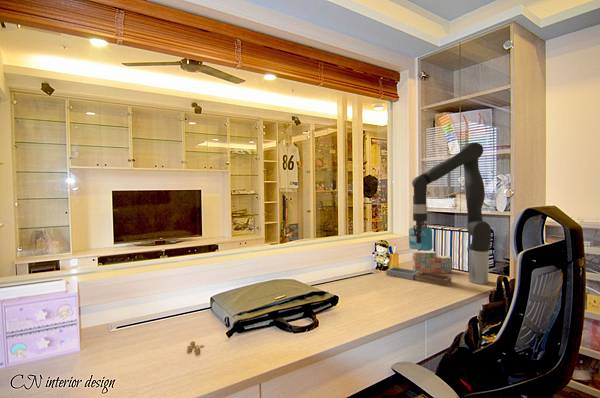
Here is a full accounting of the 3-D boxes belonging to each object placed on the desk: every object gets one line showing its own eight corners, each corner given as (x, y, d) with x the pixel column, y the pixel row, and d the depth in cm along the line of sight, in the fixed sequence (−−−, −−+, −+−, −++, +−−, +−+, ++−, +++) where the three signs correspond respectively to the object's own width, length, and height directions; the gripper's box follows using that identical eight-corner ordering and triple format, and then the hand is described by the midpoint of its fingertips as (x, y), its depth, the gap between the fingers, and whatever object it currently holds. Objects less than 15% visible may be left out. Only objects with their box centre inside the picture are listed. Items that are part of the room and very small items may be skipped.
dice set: (199, 355, 97) (199, 349, 97) (183, 354, 98) (183, 348, 98) (206, 347, 102) (206, 341, 102) (192, 346, 103) (192, 340, 103)
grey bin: (393, 271, 193) (393, 266, 192) (419, 276, 182) (420, 271, 182) (386, 275, 185) (386, 270, 185) (413, 280, 174) (413, 274, 174)
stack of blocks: (448, 270, 195) (448, 251, 194) (451, 273, 189) (452, 253, 188) (412, 269, 198) (412, 250, 197) (414, 272, 191) (415, 252, 191)
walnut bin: (421, 276, 181) (421, 271, 181) (451, 282, 171) (451, 276, 171) (414, 280, 174) (415, 275, 174) (445, 286, 163) (445, 280, 163)
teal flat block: (409, 248, 180) (408, 227, 180) (413, 247, 183) (413, 227, 183) (428, 251, 171) (427, 229, 170) (432, 250, 173) (432, 228, 173)
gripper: (421, 213, 168) (422, 245, 169) (431, 211, 179) (432, 241, 179) (408, 213, 173) (408, 243, 174) (418, 211, 184) (419, 240, 185)
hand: (420, 242), depth 177 cm, fingers closed on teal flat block, 5 cm apart
